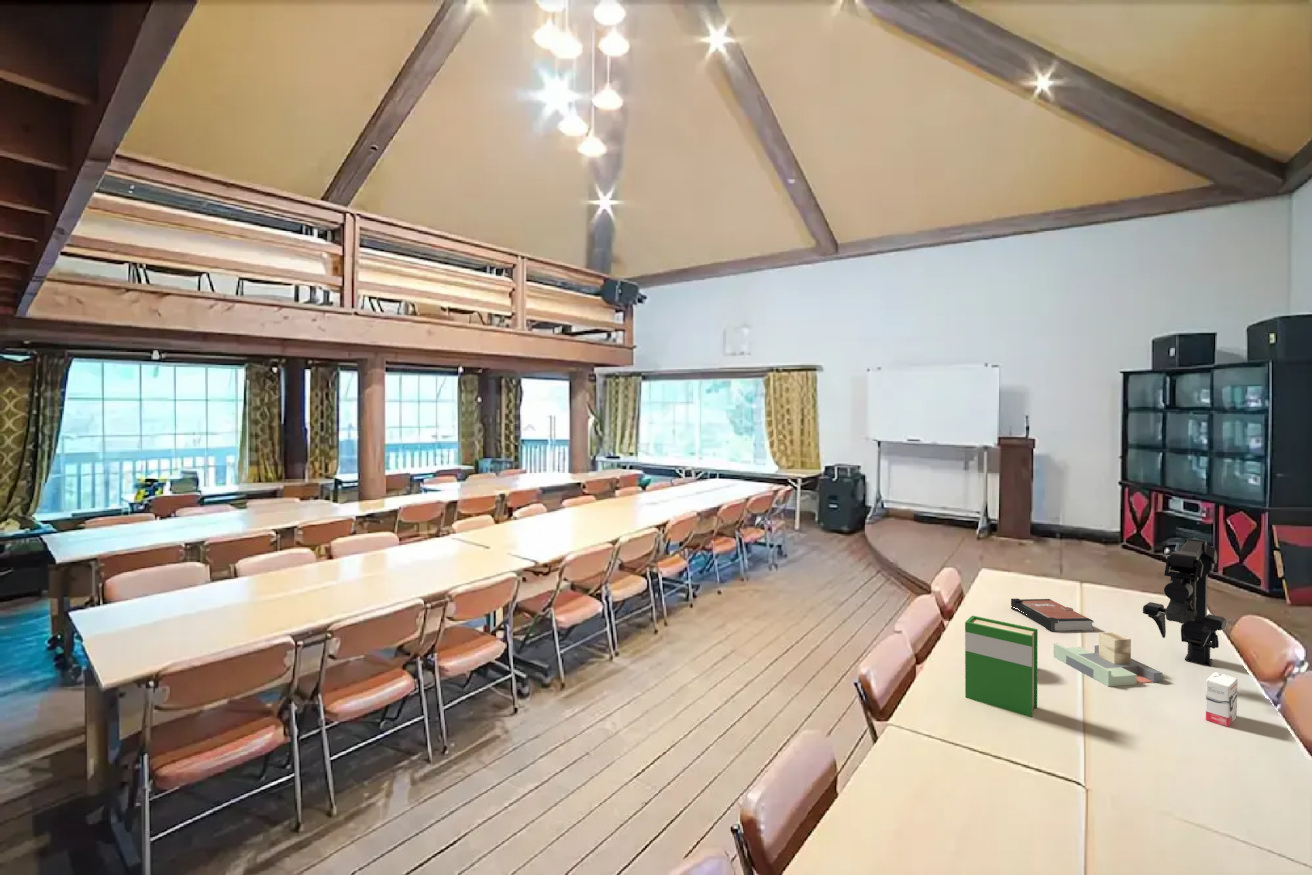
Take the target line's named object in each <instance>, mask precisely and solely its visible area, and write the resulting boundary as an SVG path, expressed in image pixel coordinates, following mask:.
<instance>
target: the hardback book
mask: <svg viewBox="0 0 1312 875" xmlns="http://www.w3.org/2000/svg"><path fill="white" fill-rule="evenodd" d="M964 628H965V629H964V631H965V632H964V640H965V642H964V646H965V647H964V650H965V652H964V654H965V655H964V657H965V658H964V660H965V661H964V664H965V665H964V667H965V668H964V669H965V670H964V671H965V673H964V674H965V675H964V678H965V682H964V684H965V689H964V691H965V694H964V695H965V698H966V699H969V700H972V701H976V702H979V703H981V704H986V705H989V706H992V707H995V708H999V709H1003V710H1005V711H1009V712H1011V713H1016V714H1019V715H1023V716H1025V717H1028V718H1033V715H1034V714H1033V713H1034V712H1033V711H1034V710H1033V709H1038V642H1039V641H1038V632H1039V631H1038V628H1035V627H1030V626H1025V625H1021V624H1020V625H1019V624H1015V623H1011V622H1005V621H1001V620H995V619H990V618H986V617H981V616H976V615H971V616H970V617H969V618H968V619H967V620H966V621H965V622H964Z"/></svg>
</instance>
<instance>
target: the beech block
mask: <svg viewBox="0 0 1312 875" xmlns="http://www.w3.org/2000/svg"><path fill="white" fill-rule="evenodd" d="M1098 645H1099V657H1101V658H1103V659H1105V660H1107V661H1110V662H1112V663H1114V664H1119V663H1131V658H1132V656H1131V655H1132V653H1131V652H1132V639H1131V638H1129V637H1127V636H1124V635H1122V634H1120V633H1117V632H1115V631H1114V632H1101V633H1098Z"/></svg>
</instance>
